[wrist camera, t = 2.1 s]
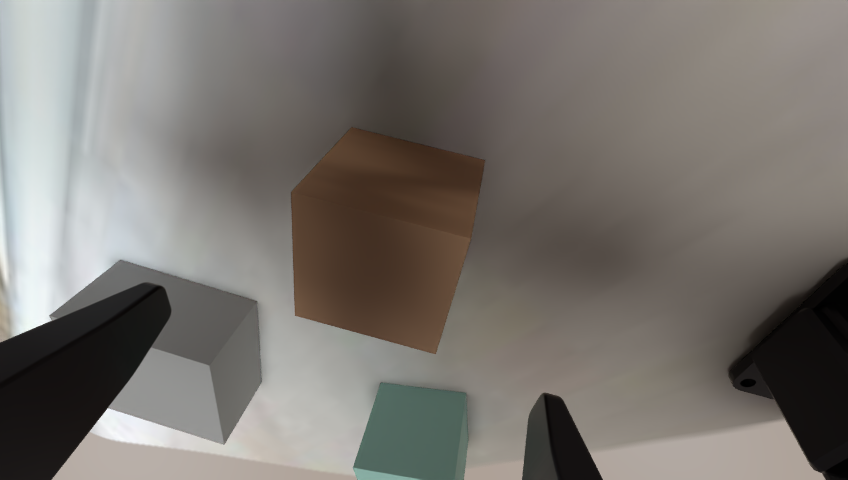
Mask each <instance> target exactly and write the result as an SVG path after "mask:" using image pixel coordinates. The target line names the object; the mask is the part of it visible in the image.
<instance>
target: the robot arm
mask: <svg viewBox="0 0 848 480" xmlns="http://www.w3.org/2000/svg"><path fill="white" fill-rule="evenodd" d="M171 312H172V308H171V305H170V301H169V298H168V295H167V292H166V289H165V287H163V286H162V285H159V284H155V283H151V282H143V283H140V284H138V285H135V286H133V287H131V288H128V289H126V290H124V291H121V292H119V293H116V294H114V295H112V296H109V297H107V298H105V299H102V300H100V301H98V302H95V303H93V304H90V305H88V306H86V307H83V308H81V309H79V310H76V311H74V312H71V313H69V314H67V315H64V316H62V317H60V318H57V319H55V320H53V321H50V322H48V323H45V324H43V325H41V326H38V327H36V328H34V329H31V330H29V331H26V332H24V333H22V334H19V335H17V336H15V337H12V338H10V339H8V340H5V341H3V342H0V480H52V478H53V477H54V476H55V475H56V473H57V472H58V471H59V469H60V468H61V467H62V465H63V464H64V463H65V462H66V461H67V459H68V458H69V457H70V455H71V454H72V453H73V452H74V450H75V449H76V448H77V447H78V445H79V444H80V443H81V441H82V440H83V439H84V438H85V436H86V435H87V434H88V433H89V431H90V430H91V429H92V427H93V426H94V425H95V424H96V422H97V421H98V420H99V419H100V417H101V416H102V415H103V413H104V412H105V411H106V410H107V408H108V407H109V406H110V405H111V403H112V402H113V401H114V399H115V398H116V397H117V396H118V394H119V393H120V392H121V390H122V389H123V388H124V387H125V385H126V384H127V383H128V381H129V380H130V379H131V377H132V376H133V375H134V373H135V372H136V370H137V369H138V367H139V366H140V364H141V363H142V361H143V359H144V358H145V356H146V355H147V353H148V352H149V350H150V348H151V347H152V345H153V344H154V342H155V341H156V339H157V337H158V336H159V334H160V333H161V331H162V330H163V328H164V326H165V325H166V323H167V322H168V320H169V318H170V316H171ZM729 378H730V380H731V383H732V385H733V386H734V387H735V388H736V389H738V390H741V391H744V392H748V393H752V394H756V395H759V396H763V397H767V398H770V399H774V400H775V402H776V404H777V405H778V407H779V409H780V411H781V413H782V415H783V416H784V418H785V420H786V422H787V424H788V425H789V427H790V429H791V431H792V433H793V435H794V436H795V438H796V440H797V442H798V444H799V445H800V447H801V449H802V451H803V453H804V455H805V456H806V458H807V460H808V462H809V464H810V466H811V467H812V468H813V469H814V470H816V471H818V472H820V473H822V474H823V476H824V477H825V479H826V480H848V263H847V264H846V265H844V266H843V267H841V268H840V269H839V270H838V271H837V272H836V273H835V274H834V275H833V276H832V277H831V278H830V279H829V280H827V281H826V282H825V283H824V284H823V285H822V286H821V287H820V288H819V289H818V290H817V291H816V292H815V293H814V294H812V295H811V296H810V297H809V298H808V299H807V300H806V301H805V302H804V303H803V304H802V305H801V306H800V307H799V308H797V309H796V310H795V311H794V312H793V313H792V314H791V315H790V316H789V317H788V318H787V319H786V320H785V321H784V322H782V323H781V324H780V325H779V326H778V327H777V328H776V329H775V330H774V331H773V332H772V333H771V334H770V335H769V336H767V337H766V338H765V339H764V340H763V341H762V342H761V343H760V344H759V345H758V346H757V347H756V348H755V349H754V350H753V351H751V352H750V353H749V354H748V355H747V356H746V357H745V358H744V359H743V360H742V361H741V362H740V363H739V364H738V365H736V366H735V367H734V368H733V369H732V370H731V371H730V373H729ZM522 480H603V479H602V477H601V475H600V473H599V471H598V469H597V467H596V465H595V463H594V461H593V459H592V457H591V455H590V453H589V451H588V449H587V447H586V445H585V443H584V441H583V439H582V437H581V435H580V433H579V431H578V429H577V427H576V425H575V423H574V421H573V419H572V417H571V415H570V413H569V411H568V409H567V407H566V405H565V403H564V401H563V400H562V398H560V397H559V396H556V395H552V394H549V393H542V394H541V395H540V397H539V398H538V400H537V402H536V403H535V405H534V407H533V408H532V410H531V412H530V414H529V418H528V427H527V437H526V446H525V456H524V467H523V477H522Z"/></svg>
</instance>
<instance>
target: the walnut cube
mask: <svg viewBox="0 0 848 480" xmlns="http://www.w3.org/2000/svg"><path fill="white" fill-rule="evenodd" d="M484 163H485V160H482V159H478V158H474V157H470V156H466V155H462V154H458V153H454V152H450V151H446V150H442V149H438V148H434V147H429V146H425V145H421V144H417V143H413V142H409V141H405V140H401V139H397V138H393V137H389V136H385V135H381V134H377V133H373V132H369V131H365V130H361V129H357V128H353V127H351V128H350V129H349V131H348V132H347V133H346V134H345V135H344V136H343V137H342V138H341V139H340V140H339V141H338V142H337V143H336V144H335V146H334V147H333V148H332V149H331V150H330V151H329V152H328V153H327V154H326V155H325V156H324V157H323V158H322V159H321V161H320V162H319V163H318V164H317V165H316V166H315V167H314V168H313V169H312V170H311V171H310V172H309V173H308V174H307V176H306V177H305V178H304V179H303V180H302V181H301V182H300V183H299V184H298V185H297V186H296V187H295V188H294V189H293V191H292V192H291V208H292V239H293V270H294V301H295V316H299V317H302V318H306V319H310V320H313V321H317V322H320V323H324V324H328V325H331V326H335V327H339V328H342V329H346V330H349V331H353V332H357V333H360V334H364V335H368V336H371V337H375V338H379V339H382V340H386V341H389V342H393V343H397V344H400V345H404V346H408V347H411V348H415V349H419V350H422V351H426V352H429V353H433V354H436V352H437V348H438V345H439V342H440V339H441V335H442V332H443V329H444V325H445V322H446V319H447V316H448V312H449V309H450V306H451V303H452V299H453V296H454V293H455V290H456V286H457V283H458V280H459V277H460V273H461V270H462V267H463V264H464V260H465V257H466V254H467V250H468V247H469V244H470V241H471V237H472V231H473V225H474V220H475V214H476V208H477V203H478V197H479V192H480V186H481V180H482V175H483V169H484Z"/></svg>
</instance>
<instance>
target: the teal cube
mask: <svg viewBox="0 0 848 480" xmlns="http://www.w3.org/2000/svg"><path fill="white" fill-rule="evenodd" d="M467 447H468V425H467V403H466V393H463V392H454V391H446V390H438V389H429V388H421V387H413V386H404V385H396V384H388V383H381V384H380V387H379V390H378V393H377V396H376V399H375V402H374V405H373V408H372V411H371V414H370V417H369V420H368V423H367V426H366V430H365V433H364V436H363V439H362V442H361V445H360V448H359V451H358V454H357V457H356V460H355V463H354V466H353V469H354V472H355V475H356V477H357V480H464V473H465V464H466V456H467Z"/></svg>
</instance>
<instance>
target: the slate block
mask: <svg viewBox="0 0 848 480" xmlns="http://www.w3.org/2000/svg"><path fill="white" fill-rule="evenodd" d="M143 282H151V283H155V284H159V285H162V286H163V287H165V289H166V292H167V295H168V298H169V301H170V305H171V308H172V312H171V316H170V318H169V320H168V322H167V323H166V325H165V326H164V328H163V330H162V331H161V333H160V334H159V336H158V337H157V339H156V341H155V342H154V344H153V345H152V347H151V348H150V350H149V352H148V353H147V355H146V356H145V358H144V359H143V361H142V363H141V364H140V366H139V367H138V369H137V370H136V372H135V373H134V375H133V376H132V377H131V379H130V380H129V381H128V383H127V384H126V385H125V387H124V388H123V389H122V390H121V392H120V393H119V394H118V396H117V397H116V398H115V399H114V401H113V402H112V403H111V405H110V406H109V407H108V408H109V409H113V410H116V411H119V412H122V413H125V414H128V415H132V416H135V417H138V418H141V419H144V420H147V421H151V422H154V423H157V424H160V425H163V426H166V427H170V428H173V429H176V430H179V431H182V432H185V433H188V434H192V435H195V436H198V437H201V438H204V439H207V440H211V441H214V442H217V443H220V444H223V445H224V444H225V443H226V441H227V439H228V438H229V436H230V434H231V433H232V431H233V429H234V428H235V426H236V424H237V423H238V421H239V419H240V418H241V416H242V414H243V413H244V411H245V409H246V408H247V406H248V404H249V403H250V401H251V399H252V397H253V396H254V394H255V392H256V391H257V389H258V387H259V386H260V384H261V382H262V378H261V361H260V343H259V326H258V308H257V301H254V300H251V299H248V298H245V297H241V296H238V295H235V294H231V293H228V292H225V291H222V290H218V289H215V288H212V287H208V286H205V285H202V284H199V283H195V282H192V281H189V280H185V279H182V278H179V277H176V276H172V275H169V274H166V273H162V272H159V271H156V270H153V269H149V268H146V267H143V266H139V265H136V264H133V263H130V262H126V261H123V260H120V261H118V262H117V263H116V264H114V265H113V266H112V267H111V268H109V269H108V270H107V271H106V272H104V273H103V274H102V275H100V276H99V277H98V278H97V279H95V280H94V281H93V282H92V283H90V284H89V285H88V286H86V287H85V288H84V289H83V290H81V291H80V292H79V293H78V294H76V295H75V296H74V297H72V298H71V299H70V300H69V301H67V302H66V303H65V304H64V305H62V306H61V307H60V308H58V309H57V310H56V311H55V312H53V313H52V314H51V315H50V318H51V320H52V321H53V320H55V319H57V318H60V317H62V316H64V315H67V314H69V313H71V312H74V311H76V310H79V309H81V308H83V307H86V306H88V305H90V304H93V303H95V302H98V301H100V300H102V299H105V298H107V297H109V296H112V295H114V294H116V293H119V292H121V291H124V290H126V289H128V288H131V287H133V286H135V285H138V284H140V283H143Z"/></svg>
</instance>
